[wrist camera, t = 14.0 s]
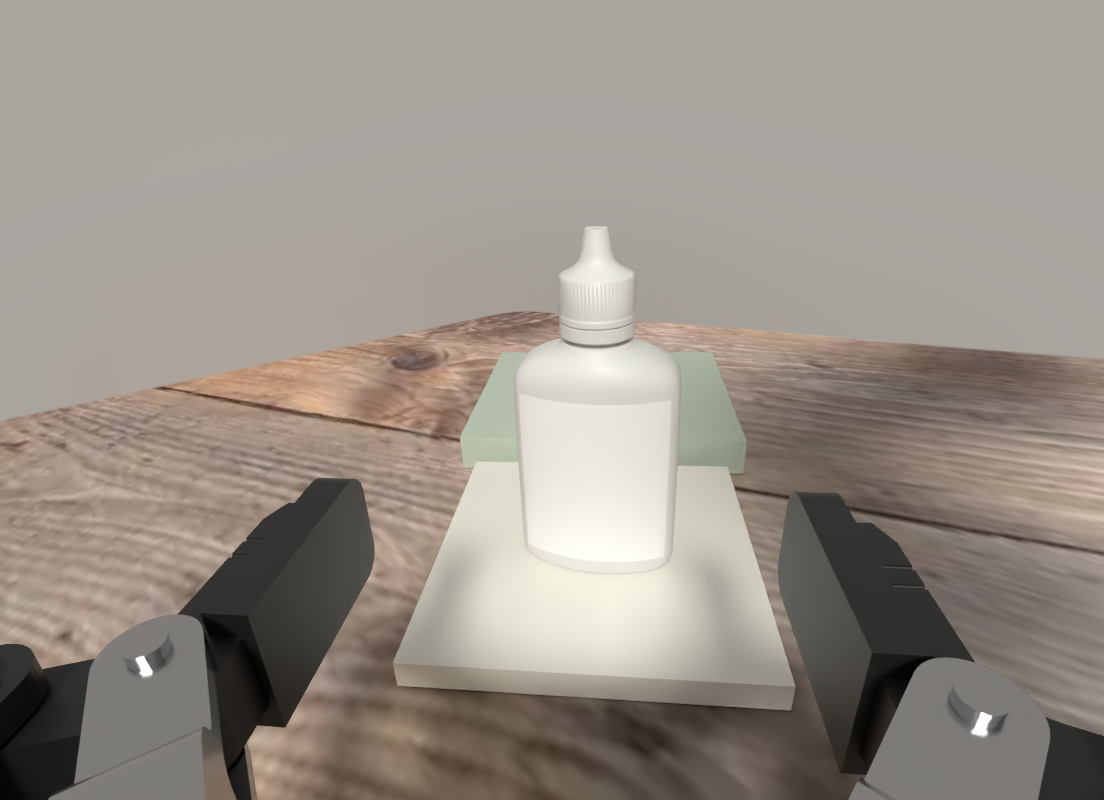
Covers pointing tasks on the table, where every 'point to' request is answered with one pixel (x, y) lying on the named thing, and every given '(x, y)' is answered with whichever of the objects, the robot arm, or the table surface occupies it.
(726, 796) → the table surface
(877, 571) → the robot arm
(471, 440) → the holder
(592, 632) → the tile
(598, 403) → the eye dropper bottle
